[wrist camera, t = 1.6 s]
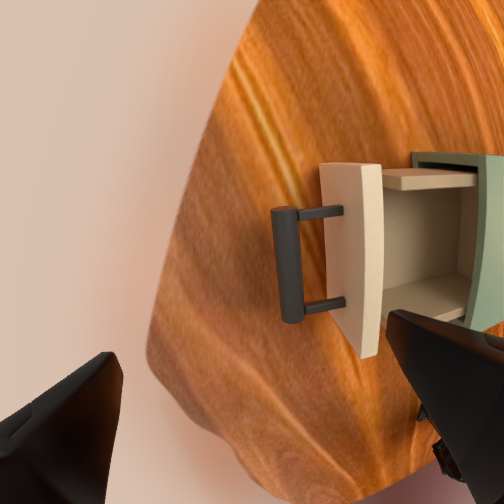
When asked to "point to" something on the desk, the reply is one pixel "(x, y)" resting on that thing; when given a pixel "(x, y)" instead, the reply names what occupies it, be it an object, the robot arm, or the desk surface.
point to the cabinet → (480, 235)
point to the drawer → (383, 247)
